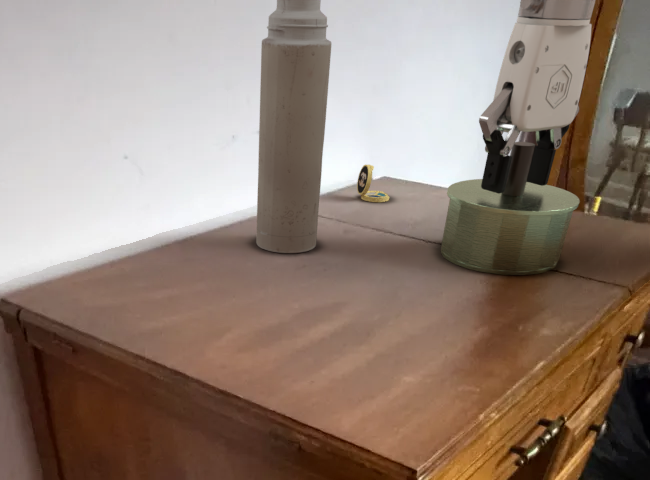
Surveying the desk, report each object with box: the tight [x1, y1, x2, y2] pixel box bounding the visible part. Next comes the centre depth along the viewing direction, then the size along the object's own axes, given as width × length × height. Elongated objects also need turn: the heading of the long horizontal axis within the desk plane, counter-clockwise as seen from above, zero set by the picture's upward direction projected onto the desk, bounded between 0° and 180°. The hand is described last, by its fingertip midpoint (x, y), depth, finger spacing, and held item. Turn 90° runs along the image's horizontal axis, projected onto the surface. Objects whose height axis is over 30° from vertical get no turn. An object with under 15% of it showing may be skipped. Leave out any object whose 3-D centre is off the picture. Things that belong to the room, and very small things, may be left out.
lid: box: [446, 141, 580, 216], centre depth 87 cm, size 16×16×7 cm
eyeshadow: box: [356, 164, 390, 203], centre depth 113 cm, size 4×5×5 cm
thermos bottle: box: [255, 0, 332, 254], centre depth 87 cm, size 8×8×28 cm
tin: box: [440, 198, 574, 276], centre depth 91 cm, size 15×15×7 cm
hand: (514, 185), depth 88 cm, fingers open, 7 cm apart
